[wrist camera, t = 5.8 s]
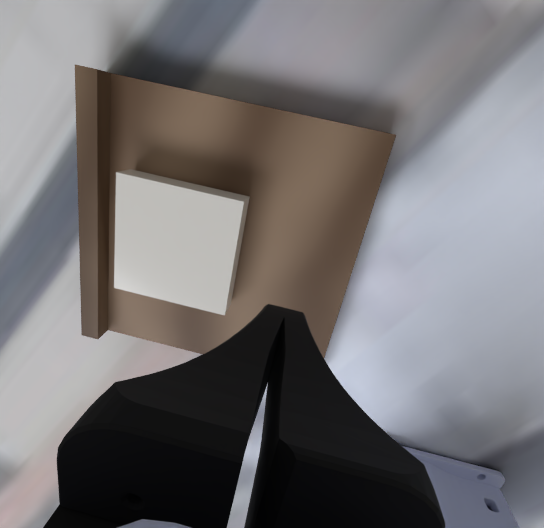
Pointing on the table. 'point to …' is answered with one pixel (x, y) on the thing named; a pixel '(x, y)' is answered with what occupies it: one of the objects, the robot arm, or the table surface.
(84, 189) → the board
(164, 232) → the tile
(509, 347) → the table surface
